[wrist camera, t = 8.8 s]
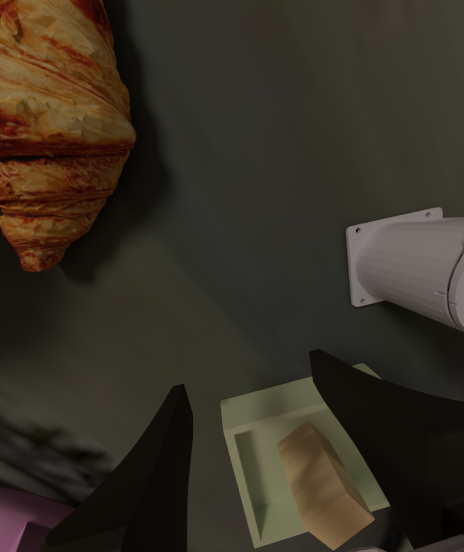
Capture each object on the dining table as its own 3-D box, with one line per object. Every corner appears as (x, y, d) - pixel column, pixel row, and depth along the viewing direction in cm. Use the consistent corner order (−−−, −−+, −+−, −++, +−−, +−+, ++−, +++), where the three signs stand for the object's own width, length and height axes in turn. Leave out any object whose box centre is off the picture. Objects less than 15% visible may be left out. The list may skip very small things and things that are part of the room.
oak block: (307, 419, 25) (347, 493, 18) (330, 441, 26) (374, 519, 19) (276, 444, 25) (303, 526, 18) (299, 465, 26) (333, 550, 19)
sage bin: (363, 362, 25) (388, 384, 21) (370, 471, 28) (393, 504, 25) (220, 400, 23) (223, 430, 20) (248, 508, 27) (254, 548, 24)
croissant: (71, -6, 18) (-105, -195, 10) (178, -25, 15) (35, -317, 7) (49, 255, 21) (-94, 255, 14) (130, 285, 18) (3, 305, 11)
